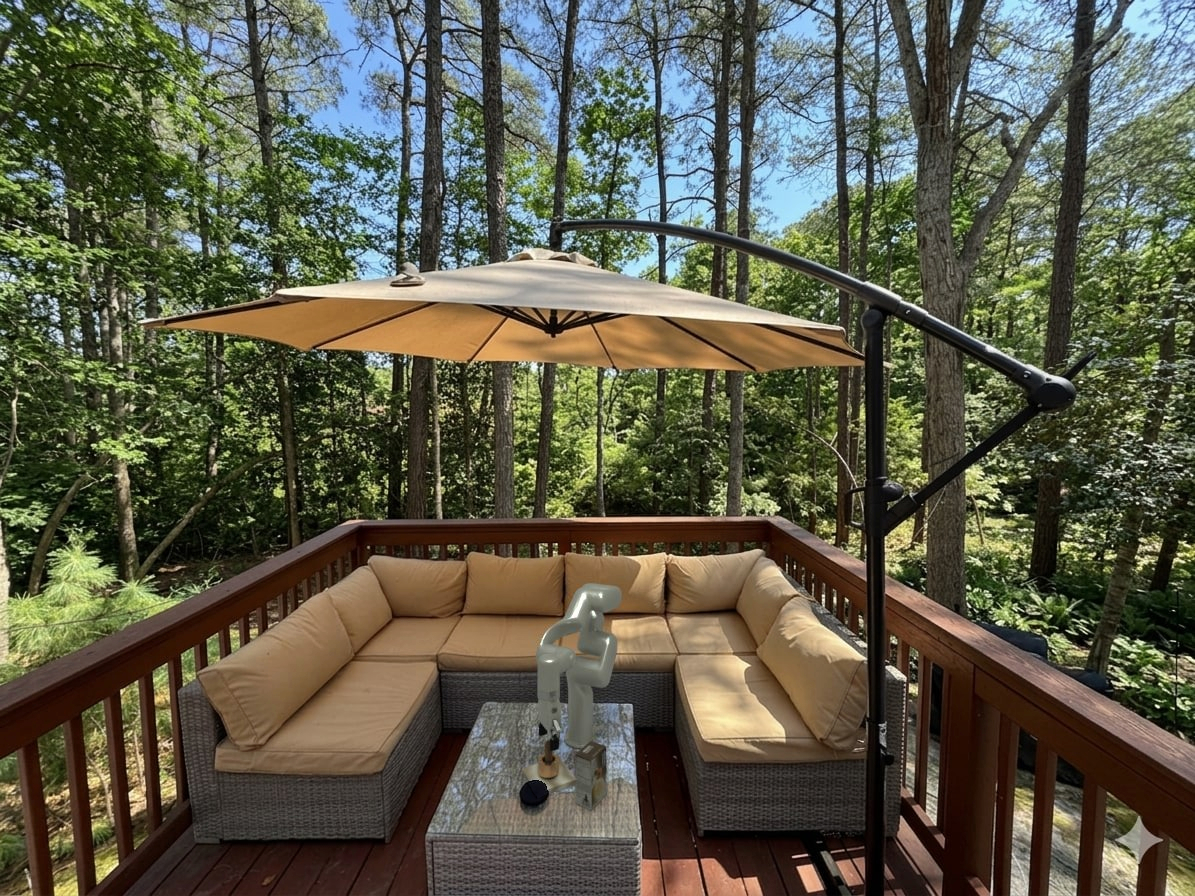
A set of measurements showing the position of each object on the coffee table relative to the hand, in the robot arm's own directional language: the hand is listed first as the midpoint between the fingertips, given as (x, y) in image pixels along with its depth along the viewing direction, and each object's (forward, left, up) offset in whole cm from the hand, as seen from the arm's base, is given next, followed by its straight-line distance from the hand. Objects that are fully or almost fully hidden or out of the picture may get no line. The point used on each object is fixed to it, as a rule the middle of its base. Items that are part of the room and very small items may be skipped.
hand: (548, 742), depth 176 cm
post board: (0, 0, -13) cm, 13 cm away
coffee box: (-8, +15, -13) cm, 22 cm away
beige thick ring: (0, 0, -10) cm, 10 cm away
